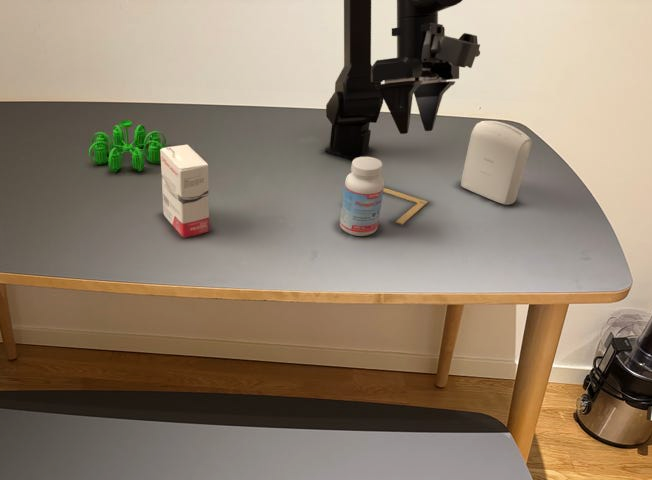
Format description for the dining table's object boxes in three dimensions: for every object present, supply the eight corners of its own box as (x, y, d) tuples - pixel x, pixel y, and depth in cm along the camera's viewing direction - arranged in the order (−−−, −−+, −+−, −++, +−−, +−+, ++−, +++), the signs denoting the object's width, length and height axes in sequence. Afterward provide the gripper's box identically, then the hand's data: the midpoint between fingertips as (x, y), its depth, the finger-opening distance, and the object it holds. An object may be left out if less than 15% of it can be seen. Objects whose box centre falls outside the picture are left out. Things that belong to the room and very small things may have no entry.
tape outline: (346, 205, 125) (346, 204, 125) (373, 185, 131) (373, 184, 131) (402, 224, 120) (402, 223, 120) (427, 202, 126) (427, 201, 126)
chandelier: (78, 150, 142) (74, 114, 137) (152, 136, 146) (149, 101, 142) (103, 182, 131) (98, 146, 127) (180, 167, 136) (179, 131, 132)
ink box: (211, 232, 118) (210, 163, 111) (182, 239, 117) (179, 169, 109) (189, 208, 124) (187, 141, 117) (162, 214, 123) (158, 147, 115)
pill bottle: (354, 240, 116) (362, 175, 109) (332, 223, 121) (339, 159, 113) (385, 231, 119) (395, 166, 111) (362, 215, 123) (371, 151, 115)
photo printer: (455, 186, 131) (470, 118, 123) (470, 179, 133) (486, 112, 125) (505, 208, 124) (524, 138, 116) (520, 200, 127) (540, 131, 119)
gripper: (447, 4, 94) (445, 131, 99) (495, 15, 108) (491, 126, 113) (368, 17, 101) (369, 136, 105) (422, 26, 115) (421, 130, 119)
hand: (416, 132), depth 110 cm, fingers open, 9 cm apart
